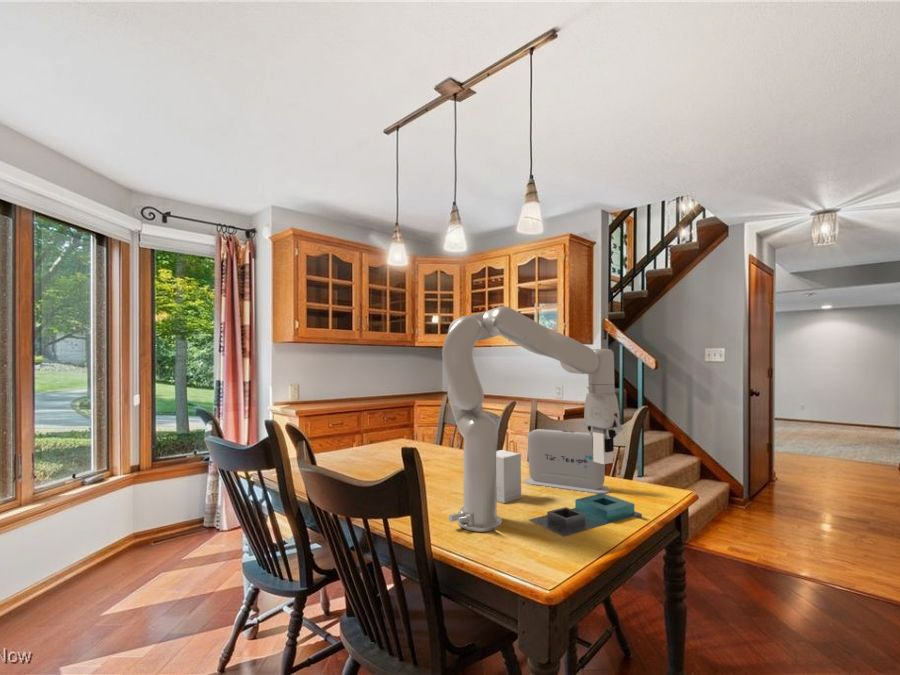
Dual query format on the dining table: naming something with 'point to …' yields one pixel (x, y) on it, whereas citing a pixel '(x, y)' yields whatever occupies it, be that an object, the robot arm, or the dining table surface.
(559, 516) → the panel
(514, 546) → the dining table surface
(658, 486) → the dining table surface
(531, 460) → the wireless router
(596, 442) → the plug
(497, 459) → the supplement box
